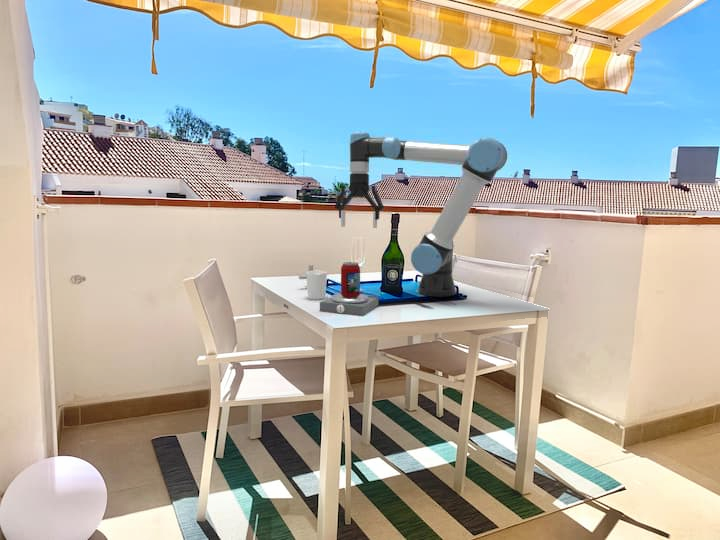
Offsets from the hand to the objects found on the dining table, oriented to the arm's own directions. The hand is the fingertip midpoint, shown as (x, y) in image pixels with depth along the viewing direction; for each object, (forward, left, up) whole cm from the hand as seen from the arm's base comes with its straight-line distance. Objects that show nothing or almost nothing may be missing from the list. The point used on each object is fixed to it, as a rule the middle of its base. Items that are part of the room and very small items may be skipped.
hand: (358, 227), depth 198 cm
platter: (-7, +26, -24) cm, 36 cm away
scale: (-7, +26, -27) cm, 38 cm away
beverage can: (-7, +26, -23) cm, 35 cm away
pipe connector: (+21, +1, -27) cm, 34 cm away
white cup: (+11, +16, -27) cm, 33 cm away
